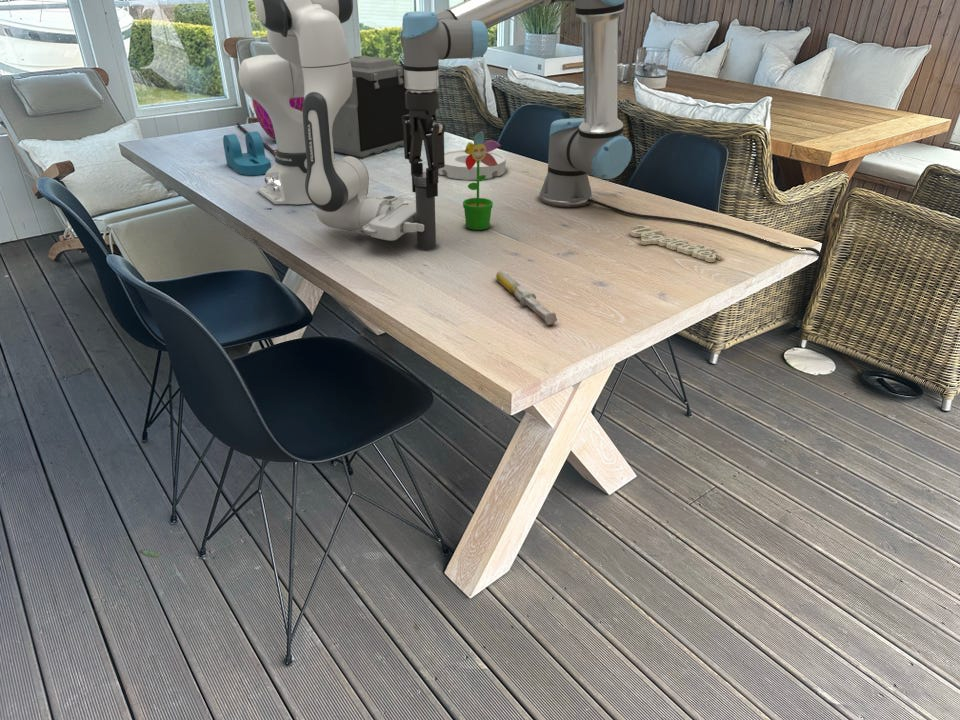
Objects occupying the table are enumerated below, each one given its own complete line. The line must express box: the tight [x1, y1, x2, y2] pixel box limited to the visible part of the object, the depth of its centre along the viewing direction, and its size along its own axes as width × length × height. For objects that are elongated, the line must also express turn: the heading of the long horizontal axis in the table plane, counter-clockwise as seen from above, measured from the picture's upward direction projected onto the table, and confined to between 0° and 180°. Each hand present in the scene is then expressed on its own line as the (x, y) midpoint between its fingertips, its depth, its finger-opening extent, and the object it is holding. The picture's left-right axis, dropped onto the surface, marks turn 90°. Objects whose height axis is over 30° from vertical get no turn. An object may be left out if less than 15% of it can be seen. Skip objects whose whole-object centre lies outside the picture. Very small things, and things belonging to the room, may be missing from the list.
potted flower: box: [462, 131, 501, 231], centre depth 176 cm, size 9×8×25 cm
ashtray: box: [438, 149, 507, 181], centre depth 229 cm, size 23×23×4 cm
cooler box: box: [332, 55, 410, 159], centre depth 250 cm, size 37×22×30 cm, turn 144°
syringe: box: [495, 269, 558, 326], centre depth 143 cm, size 25×4×3 cm, turn 21°
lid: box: [413, 171, 426, 187], centre depth 161 cm, size 5×5×2 cm
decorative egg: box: [251, 97, 304, 141], centre depth 257 cm, size 19×19×30 cm
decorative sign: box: [630, 224, 722, 263], centre depth 172 cm, size 26×1×10 cm
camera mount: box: [222, 131, 272, 176], centre depth 226 cm, size 18×10×10 cm, turn 35°
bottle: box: [414, 185, 437, 251], centre depth 165 cm, size 5×5×17 cm
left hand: (429, 223), depth 167 cm, fingers closed on bottle, 4 cm apart
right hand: (425, 193), depth 163 cm, fingers closed on lid, 5 cm apart
